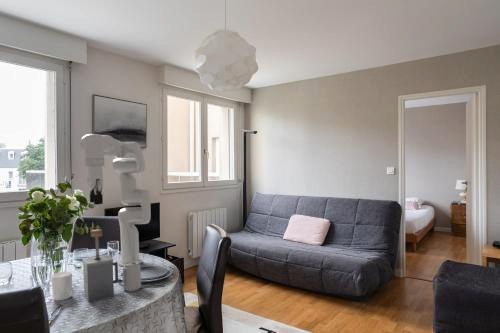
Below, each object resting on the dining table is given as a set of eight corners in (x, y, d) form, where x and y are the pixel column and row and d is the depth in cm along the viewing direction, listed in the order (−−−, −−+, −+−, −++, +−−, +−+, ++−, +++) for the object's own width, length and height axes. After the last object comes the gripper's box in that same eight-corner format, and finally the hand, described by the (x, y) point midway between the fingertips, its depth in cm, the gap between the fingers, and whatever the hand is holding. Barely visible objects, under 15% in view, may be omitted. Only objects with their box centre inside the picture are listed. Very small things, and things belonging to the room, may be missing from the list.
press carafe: (83, 294, 146) (82, 258, 146) (115, 287, 154) (114, 252, 153) (88, 302, 137) (86, 264, 137) (121, 294, 145) (120, 258, 145)
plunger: (91, 263, 145) (90, 230, 145) (102, 261, 147) (101, 228, 147) (93, 265, 141) (92, 232, 141) (104, 263, 144) (103, 230, 144)
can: (144, 288, 151) (143, 262, 151) (128, 293, 146) (127, 266, 146) (136, 284, 156) (135, 259, 156) (120, 289, 151) (119, 263, 151)
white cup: (58, 302, 138) (57, 278, 138) (48, 299, 142) (47, 275, 142) (76, 295, 145) (75, 273, 145) (66, 292, 149) (65, 270, 149)
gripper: (81, 163, 148) (83, 202, 149) (89, 163, 134) (90, 206, 135) (99, 163, 153) (101, 200, 153) (108, 162, 139) (110, 204, 139)
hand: (96, 203), depth 144 cm, fingers open, 8 cm apart
